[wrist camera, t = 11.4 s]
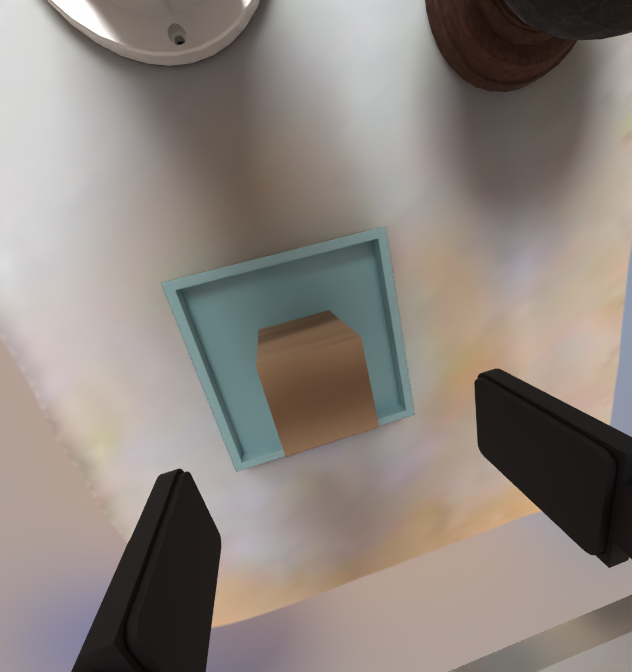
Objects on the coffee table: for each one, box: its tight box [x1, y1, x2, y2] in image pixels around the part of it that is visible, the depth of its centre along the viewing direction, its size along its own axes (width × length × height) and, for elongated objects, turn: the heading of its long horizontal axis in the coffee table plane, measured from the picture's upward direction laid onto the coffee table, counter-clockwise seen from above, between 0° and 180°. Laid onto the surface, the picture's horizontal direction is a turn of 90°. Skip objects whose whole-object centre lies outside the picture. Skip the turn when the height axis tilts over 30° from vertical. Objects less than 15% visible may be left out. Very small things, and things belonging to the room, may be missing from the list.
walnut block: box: [256, 310, 379, 457], centre depth 17 cm, size 5×5×7 cm
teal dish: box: [161, 226, 415, 472], centre depth 21 cm, size 14×14×2 cm
